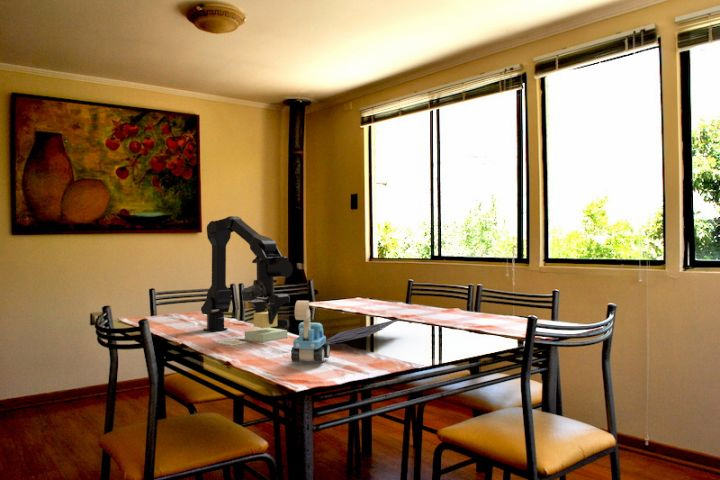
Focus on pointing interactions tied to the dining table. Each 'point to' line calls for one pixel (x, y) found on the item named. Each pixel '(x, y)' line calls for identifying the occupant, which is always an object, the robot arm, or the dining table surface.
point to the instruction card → (232, 342)
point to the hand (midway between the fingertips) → (265, 323)
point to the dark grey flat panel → (358, 333)
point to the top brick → (263, 320)
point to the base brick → (266, 334)
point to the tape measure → (282, 324)
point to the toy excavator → (308, 337)
